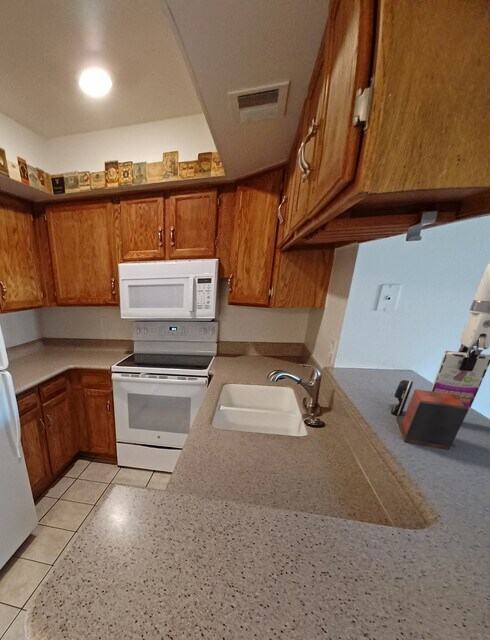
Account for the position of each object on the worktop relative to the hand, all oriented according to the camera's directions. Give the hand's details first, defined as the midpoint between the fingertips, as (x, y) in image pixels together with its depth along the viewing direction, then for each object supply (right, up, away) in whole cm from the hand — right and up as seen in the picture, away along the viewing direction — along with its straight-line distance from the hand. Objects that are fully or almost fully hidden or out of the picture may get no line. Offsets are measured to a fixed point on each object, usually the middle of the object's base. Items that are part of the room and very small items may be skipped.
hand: (462, 367), depth 104 cm
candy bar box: (0, -11, +6) cm, 12 cm away
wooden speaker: (-14, -21, -1) cm, 25 cm away
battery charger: (-12, -13, +13) cm, 22 cm away
